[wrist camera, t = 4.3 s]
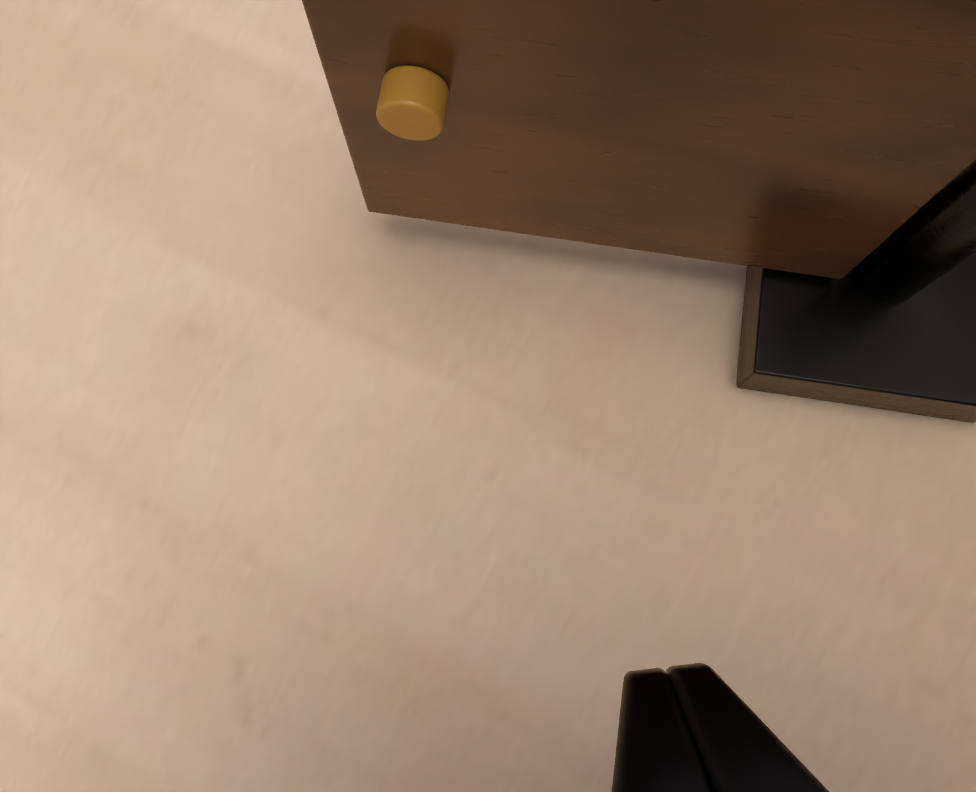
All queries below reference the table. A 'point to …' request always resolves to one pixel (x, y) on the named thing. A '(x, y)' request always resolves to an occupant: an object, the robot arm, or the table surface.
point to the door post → (876, 319)
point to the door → (658, 118)
